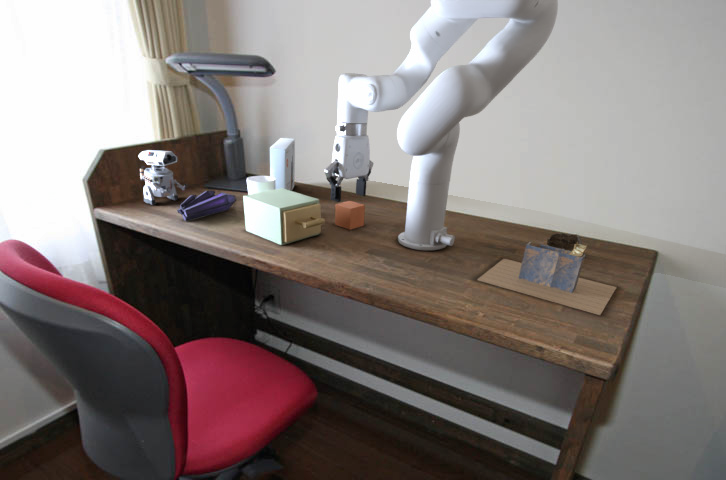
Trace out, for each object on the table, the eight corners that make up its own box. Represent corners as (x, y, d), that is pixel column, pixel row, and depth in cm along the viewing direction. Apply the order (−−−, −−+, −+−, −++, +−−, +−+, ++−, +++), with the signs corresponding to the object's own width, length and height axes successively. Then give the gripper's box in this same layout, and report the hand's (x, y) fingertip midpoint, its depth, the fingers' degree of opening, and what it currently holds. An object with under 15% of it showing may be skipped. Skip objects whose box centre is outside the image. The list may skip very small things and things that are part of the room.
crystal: (190, 202, 122) (246, 182, 135) (163, 199, 128) (219, 180, 141) (197, 229, 125) (251, 207, 139) (171, 224, 131) (224, 204, 145)
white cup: (244, 216, 134) (241, 180, 128) (256, 209, 140) (253, 174, 135) (270, 219, 132) (268, 183, 127) (281, 212, 139) (279, 177, 134)
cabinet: (319, 234, 123) (319, 199, 118) (281, 245, 115) (279, 208, 110) (283, 221, 131) (282, 188, 127) (245, 230, 123) (242, 195, 119)
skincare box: (287, 201, 149) (285, 148, 140) (270, 201, 149) (267, 147, 140) (296, 185, 167) (295, 137, 159) (280, 185, 167) (278, 137, 159)
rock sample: (601, 238, 116) (584, 217, 112) (592, 264, 114) (574, 243, 110) (563, 244, 125) (545, 224, 120) (554, 268, 123) (536, 249, 119)
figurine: (163, 209, 136) (154, 155, 129) (141, 201, 142) (131, 149, 135) (190, 203, 143) (183, 151, 135) (168, 196, 149) (160, 145, 141)
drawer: (332, 236, 119) (332, 208, 115) (298, 247, 112) (297, 217, 108) (287, 220, 129) (286, 193, 125) (252, 229, 122) (250, 200, 118)
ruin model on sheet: (616, 287, 101) (632, 243, 96) (600, 315, 89) (616, 267, 84) (504, 258, 113) (512, 218, 108) (476, 279, 101) (484, 236, 96)
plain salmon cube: (364, 225, 131) (365, 205, 128) (349, 229, 127) (350, 208, 124) (349, 220, 134) (349, 200, 131) (335, 224, 130) (335, 204, 128)
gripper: (338, 134, 111) (335, 206, 120) (385, 129, 122) (379, 196, 131) (316, 129, 115) (315, 199, 124) (364, 125, 126) (359, 190, 135)
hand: (348, 197), depth 127 cm, fingers open, 9 cm apart
